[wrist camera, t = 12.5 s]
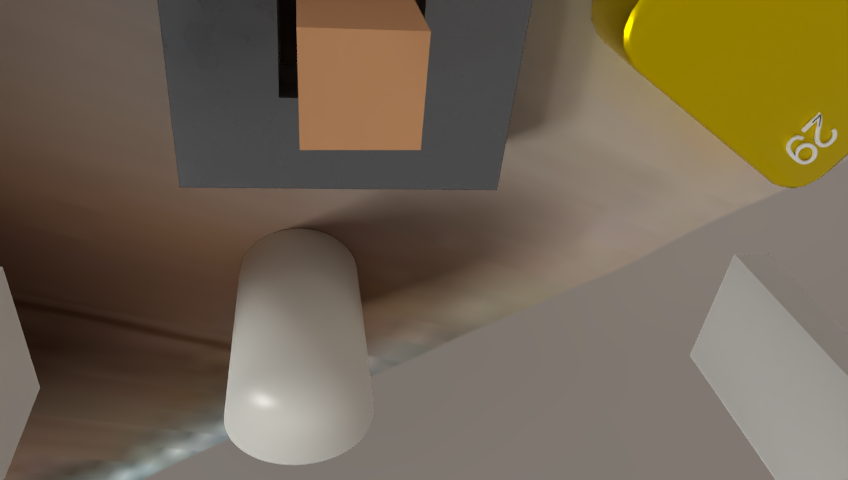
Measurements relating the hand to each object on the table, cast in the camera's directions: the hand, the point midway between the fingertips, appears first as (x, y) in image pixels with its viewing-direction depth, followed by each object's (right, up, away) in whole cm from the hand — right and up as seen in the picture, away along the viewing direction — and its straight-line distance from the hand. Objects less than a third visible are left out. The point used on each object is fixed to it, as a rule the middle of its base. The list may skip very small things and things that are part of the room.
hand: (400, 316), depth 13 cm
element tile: (+18, +14, +20) cm, 30 cm away
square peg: (-3, +12, +17) cm, 21 cm away
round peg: (-6, -1, +25) cm, 25 cm away
